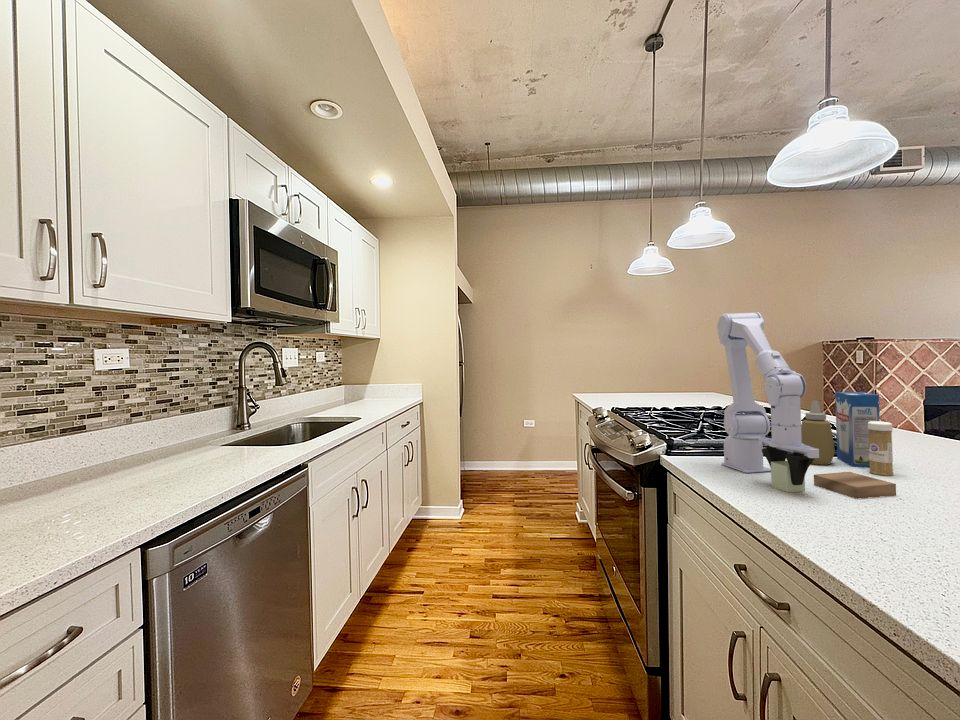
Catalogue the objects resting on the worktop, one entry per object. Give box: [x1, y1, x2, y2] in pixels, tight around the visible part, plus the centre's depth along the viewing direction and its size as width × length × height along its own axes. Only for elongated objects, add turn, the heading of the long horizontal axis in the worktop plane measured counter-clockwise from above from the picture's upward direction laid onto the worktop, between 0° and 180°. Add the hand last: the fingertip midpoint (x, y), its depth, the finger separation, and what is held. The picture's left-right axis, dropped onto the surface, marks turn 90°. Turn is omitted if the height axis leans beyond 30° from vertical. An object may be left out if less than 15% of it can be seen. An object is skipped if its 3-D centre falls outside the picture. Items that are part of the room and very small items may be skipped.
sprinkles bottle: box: [868, 420, 894, 477], centre depth 106 cm, size 5×5×13 cm
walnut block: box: [813, 471, 897, 500], centre depth 95 cm, size 10×10×3 cm
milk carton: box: [834, 391, 881, 469], centre depth 117 cm, size 10×6×20 cm, turn 157°
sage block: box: [770, 460, 806, 493], centre depth 97 cm, size 4×4×6 cm
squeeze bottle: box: [801, 400, 836, 466], centre depth 118 cm, size 8×8×18 cm
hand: (787, 481), depth 97 cm, fingers closed on sage block, 4 cm apart
